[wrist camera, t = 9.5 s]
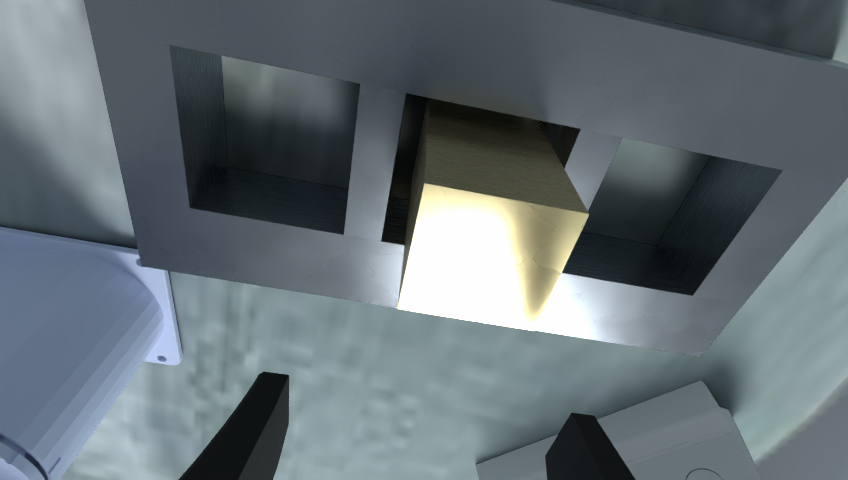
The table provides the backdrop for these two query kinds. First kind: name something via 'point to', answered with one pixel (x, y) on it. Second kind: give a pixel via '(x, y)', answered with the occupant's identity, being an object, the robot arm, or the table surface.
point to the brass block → (486, 218)
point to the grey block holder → (487, 89)
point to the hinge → (654, 442)
